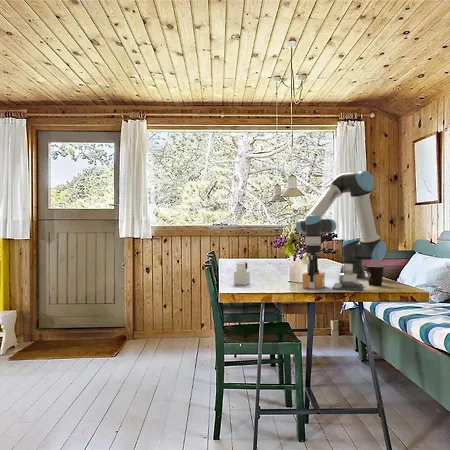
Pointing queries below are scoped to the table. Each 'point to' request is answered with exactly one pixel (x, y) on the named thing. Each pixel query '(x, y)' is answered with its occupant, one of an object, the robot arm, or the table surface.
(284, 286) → the table surface
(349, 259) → the robot arm
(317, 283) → the orange brown box
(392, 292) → the table surface
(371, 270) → the coffee mug
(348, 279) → the piston stand
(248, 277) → the medicine bottle
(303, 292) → the table surface
